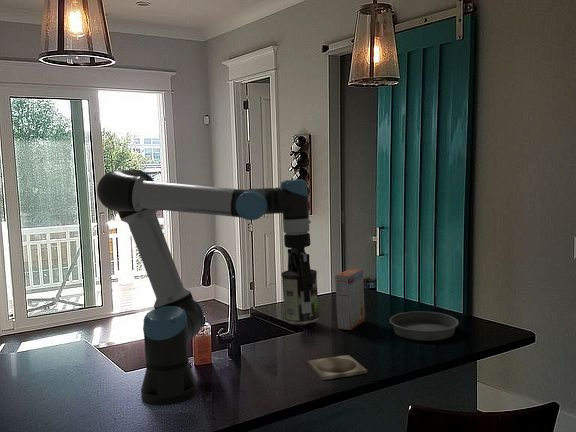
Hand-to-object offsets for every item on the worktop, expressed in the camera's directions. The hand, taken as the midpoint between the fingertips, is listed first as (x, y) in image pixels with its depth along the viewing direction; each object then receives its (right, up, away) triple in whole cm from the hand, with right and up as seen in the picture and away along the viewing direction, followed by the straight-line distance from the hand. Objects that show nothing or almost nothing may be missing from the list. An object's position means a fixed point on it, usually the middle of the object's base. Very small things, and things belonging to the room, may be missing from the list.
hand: (301, 308), depth 160 cm
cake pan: (+46, -16, +40) cm, 63 cm away
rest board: (+11, -19, +7) cm, 23 cm away
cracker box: (+21, -15, +51) cm, 57 cm away
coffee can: (0, -3, 0) cm, 4 cm away
